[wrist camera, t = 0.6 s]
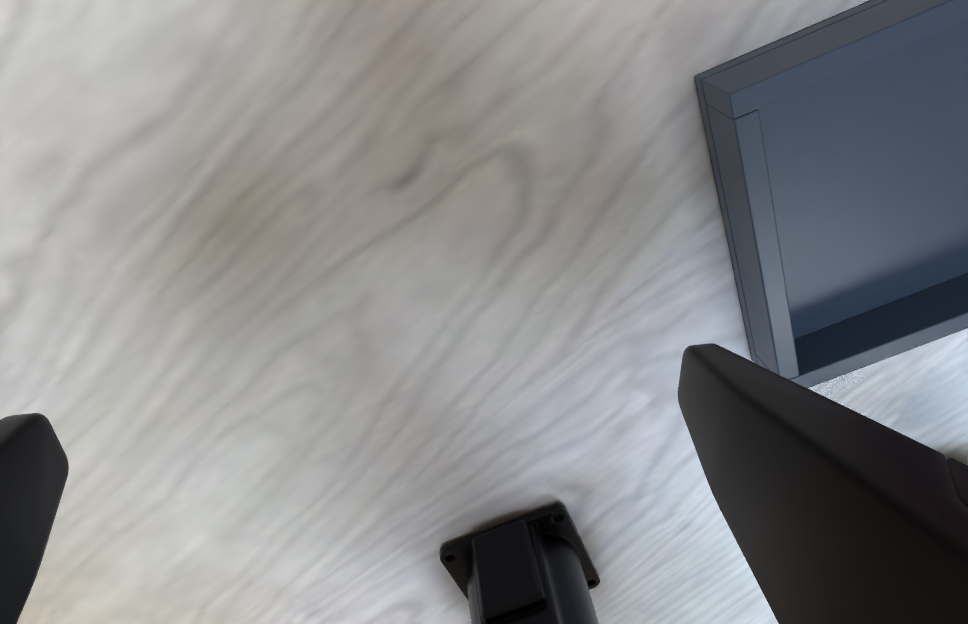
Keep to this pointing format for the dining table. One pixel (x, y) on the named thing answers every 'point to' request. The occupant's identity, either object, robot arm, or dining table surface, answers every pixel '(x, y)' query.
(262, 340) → the dining table surface
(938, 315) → the tray
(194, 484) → the dining table surface
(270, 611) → the dining table surface
